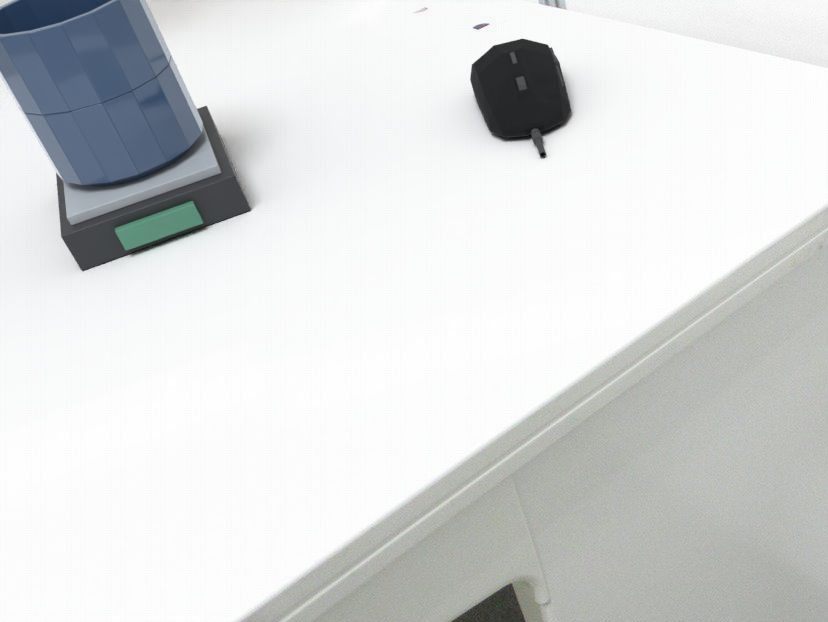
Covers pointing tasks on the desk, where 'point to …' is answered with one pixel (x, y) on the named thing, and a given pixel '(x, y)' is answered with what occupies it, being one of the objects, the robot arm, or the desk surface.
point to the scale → (152, 203)
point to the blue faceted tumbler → (97, 87)
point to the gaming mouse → (520, 90)
